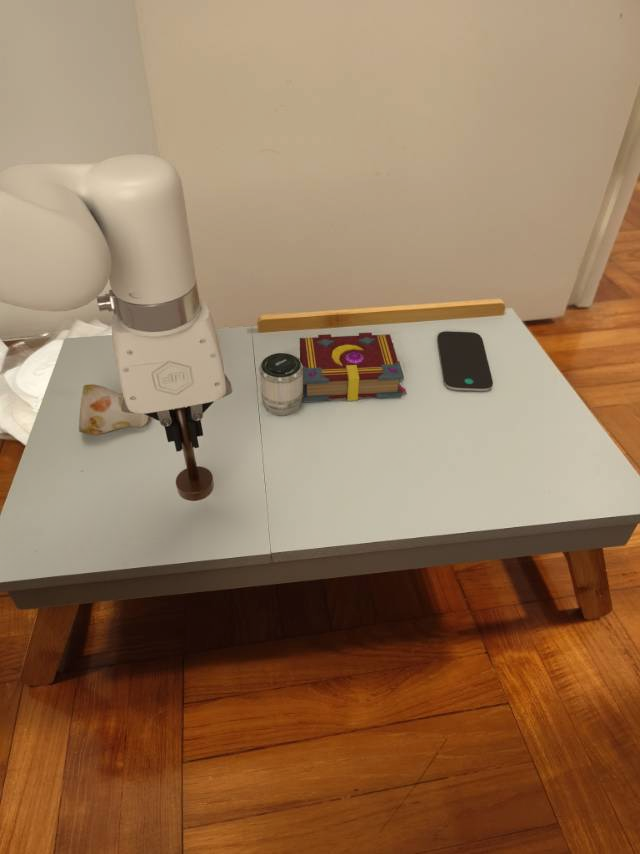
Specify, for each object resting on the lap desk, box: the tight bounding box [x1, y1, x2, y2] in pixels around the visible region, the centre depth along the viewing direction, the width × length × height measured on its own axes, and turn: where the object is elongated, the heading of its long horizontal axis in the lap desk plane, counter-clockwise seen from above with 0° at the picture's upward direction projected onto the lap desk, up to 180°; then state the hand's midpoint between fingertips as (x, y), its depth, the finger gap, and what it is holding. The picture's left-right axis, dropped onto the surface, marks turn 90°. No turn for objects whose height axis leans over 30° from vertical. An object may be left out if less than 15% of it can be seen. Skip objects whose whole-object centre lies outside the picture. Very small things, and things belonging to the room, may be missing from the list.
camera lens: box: [258, 352, 303, 416], centre depth 91 cm, size 6×6×8 cm
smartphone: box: [436, 330, 494, 392], centre depth 101 cm, size 8×1×15 cm
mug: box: [78, 383, 150, 436], centre depth 87 cm, size 8×10×10 cm
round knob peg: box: [173, 407, 215, 502], centre depth 70 cm, size 4×4×14 cm
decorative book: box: [299, 332, 408, 403], centre depth 96 cm, size 11×16×5 cm
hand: (186, 440), depth 69 cm, fingers closed on round knob peg, 1 cm apart
